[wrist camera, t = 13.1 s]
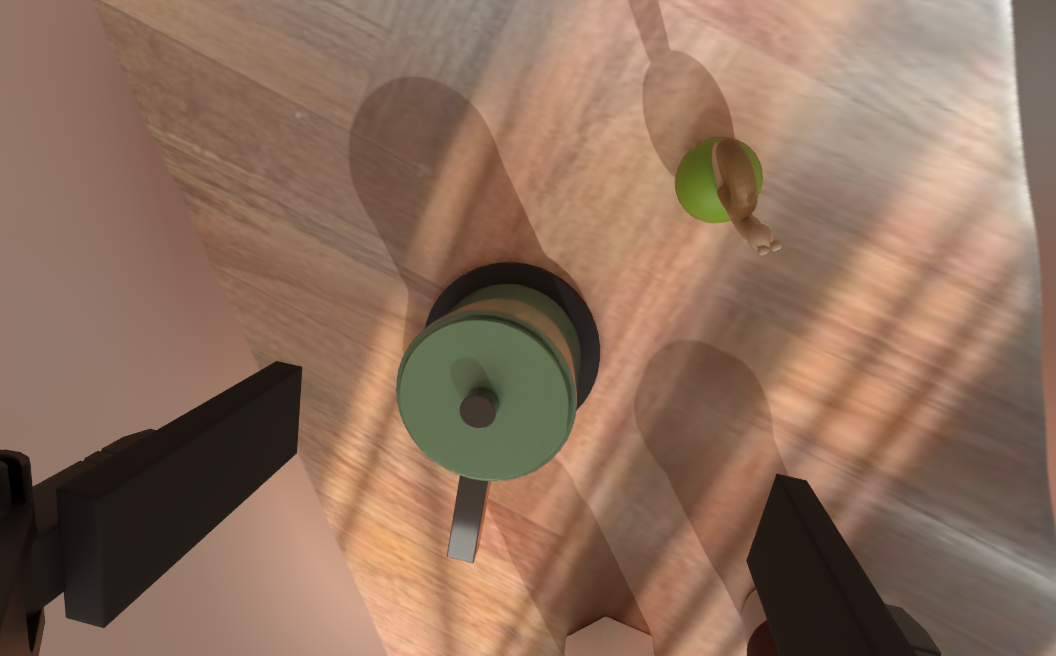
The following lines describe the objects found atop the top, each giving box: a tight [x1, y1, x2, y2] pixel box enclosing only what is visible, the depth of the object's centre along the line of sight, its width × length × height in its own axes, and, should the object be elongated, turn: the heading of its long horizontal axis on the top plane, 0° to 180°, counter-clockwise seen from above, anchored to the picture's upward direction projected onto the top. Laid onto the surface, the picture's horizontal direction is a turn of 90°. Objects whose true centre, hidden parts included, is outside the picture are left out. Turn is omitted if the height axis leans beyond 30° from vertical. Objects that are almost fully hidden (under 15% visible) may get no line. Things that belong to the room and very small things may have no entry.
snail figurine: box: [675, 137, 782, 255], centre depth 34 cm, size 5×6×12 cm
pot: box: [396, 284, 581, 563], centre depth 40 cm, size 12×19×11 cm, turn 170°
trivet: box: [425, 263, 600, 410], centre depth 45 cm, size 14×14×1 cm
